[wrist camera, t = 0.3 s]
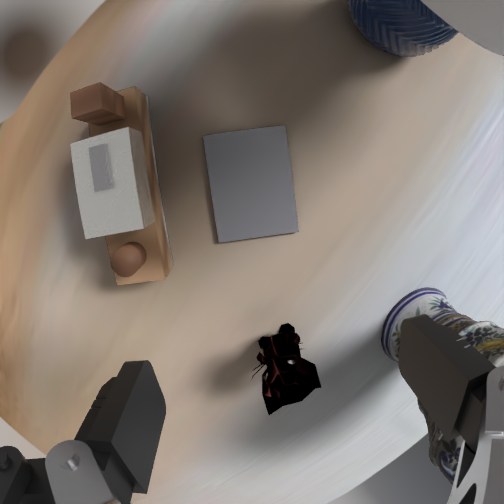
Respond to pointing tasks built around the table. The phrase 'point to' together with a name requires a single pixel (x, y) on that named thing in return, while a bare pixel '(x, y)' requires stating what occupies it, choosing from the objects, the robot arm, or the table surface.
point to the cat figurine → (285, 370)
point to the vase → (476, 333)
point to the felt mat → (251, 183)
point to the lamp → (428, 23)
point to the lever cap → (112, 183)
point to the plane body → (155, 235)
